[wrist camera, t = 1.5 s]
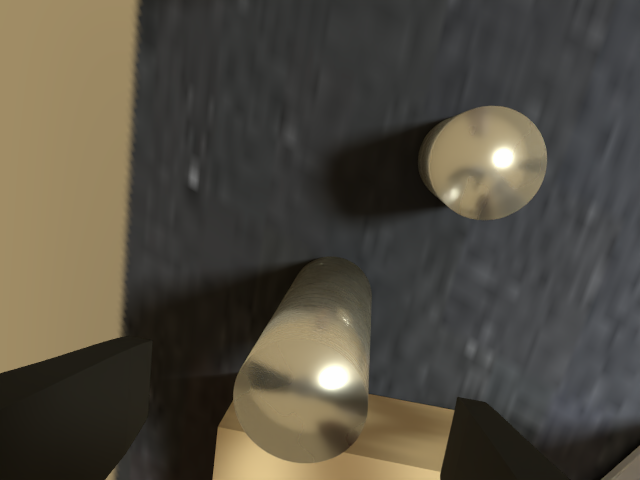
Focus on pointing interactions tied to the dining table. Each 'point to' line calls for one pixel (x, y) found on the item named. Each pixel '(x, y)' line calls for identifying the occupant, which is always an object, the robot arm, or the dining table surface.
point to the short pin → (484, 162)
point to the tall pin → (310, 367)
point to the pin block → (359, 459)
